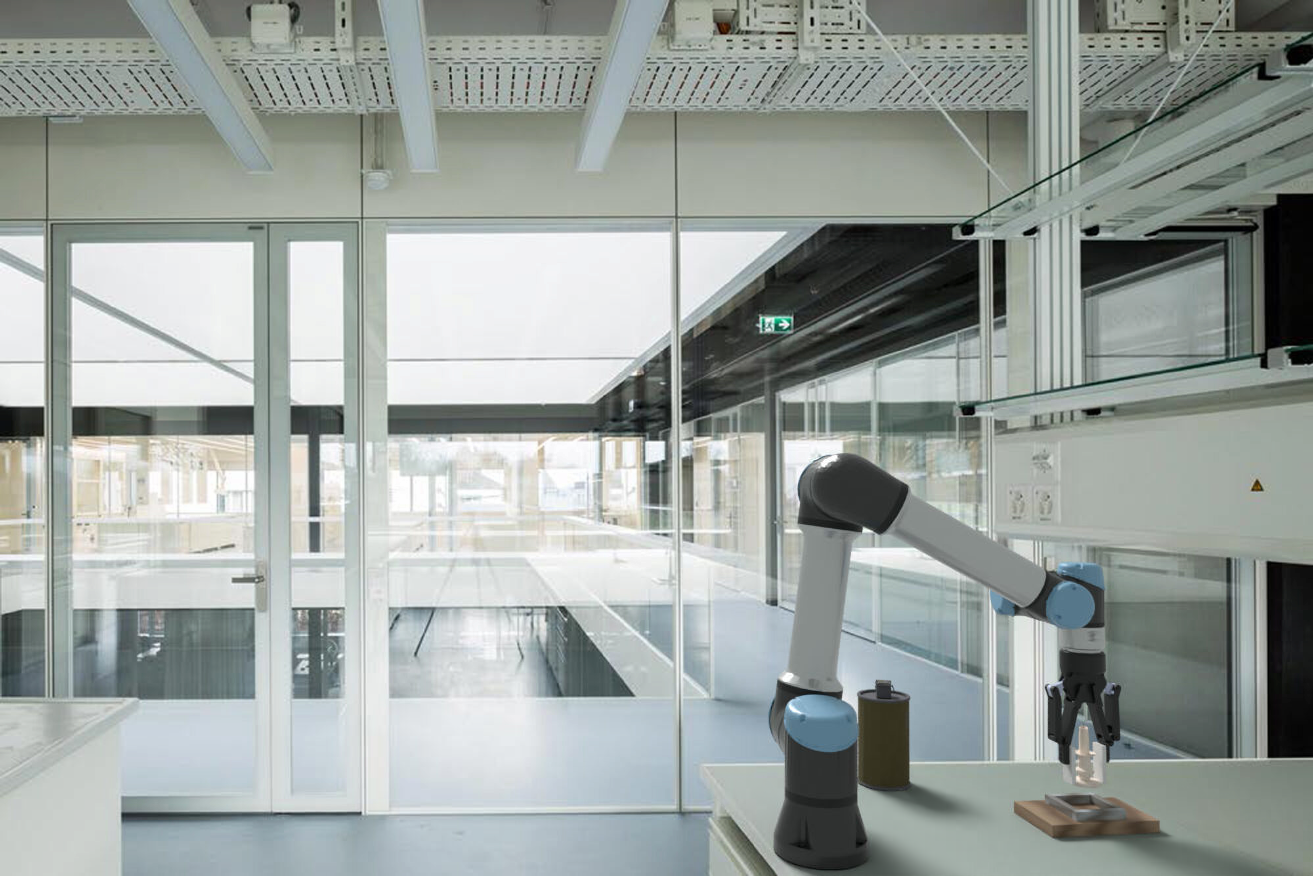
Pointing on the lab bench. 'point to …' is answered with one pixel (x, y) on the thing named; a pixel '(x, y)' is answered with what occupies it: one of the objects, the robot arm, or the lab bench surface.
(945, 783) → the lab bench surface
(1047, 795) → the board
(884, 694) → the canister
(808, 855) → the robot arm
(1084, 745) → the candle
